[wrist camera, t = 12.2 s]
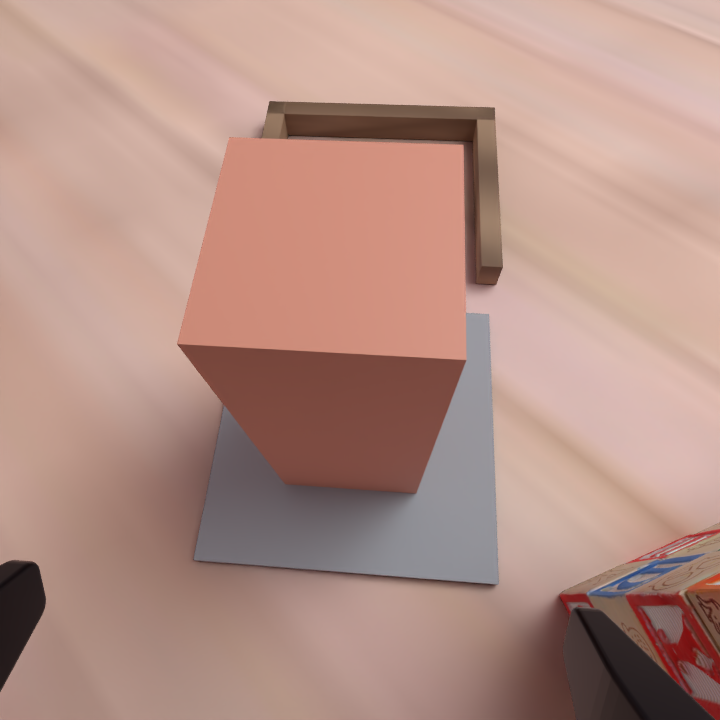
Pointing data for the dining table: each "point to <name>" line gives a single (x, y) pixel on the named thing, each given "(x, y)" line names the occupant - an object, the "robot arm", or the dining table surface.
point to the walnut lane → (413, 125)
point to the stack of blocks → (668, 609)
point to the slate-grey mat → (368, 501)
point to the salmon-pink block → (334, 305)
